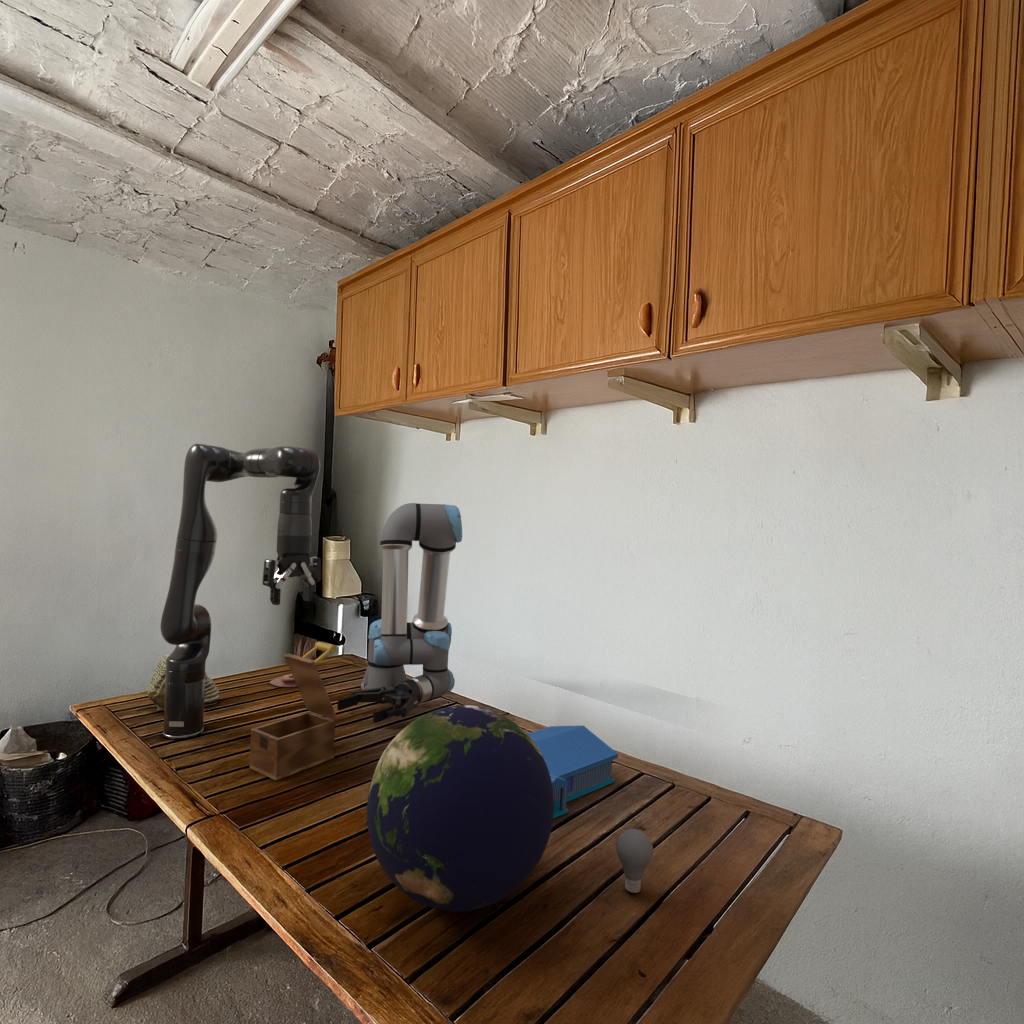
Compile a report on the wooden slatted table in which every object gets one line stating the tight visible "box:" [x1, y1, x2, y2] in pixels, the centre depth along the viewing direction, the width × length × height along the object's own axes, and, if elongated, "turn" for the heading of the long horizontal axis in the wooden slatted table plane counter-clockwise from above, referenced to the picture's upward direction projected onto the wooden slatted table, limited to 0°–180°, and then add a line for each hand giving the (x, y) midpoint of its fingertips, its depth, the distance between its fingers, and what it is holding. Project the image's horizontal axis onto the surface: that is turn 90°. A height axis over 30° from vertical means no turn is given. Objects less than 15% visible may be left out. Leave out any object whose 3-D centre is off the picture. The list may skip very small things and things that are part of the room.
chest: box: [249, 711, 336, 781], centre depth 150 cm, size 16×10×9 cm, turn 146°
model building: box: [526, 725, 619, 820], centre depth 140 cm, size 39×24×10 cm, turn 132°
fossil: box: [147, 654, 221, 712], centre depth 185 cm, size 9×18×15 cm, turn 132°
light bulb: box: [615, 828, 654, 894], centre depth 106 cm, size 6×6×10 cm
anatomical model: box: [269, 673, 298, 688], centre depth 212 cm, size 13×4×12 cm
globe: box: [366, 704, 554, 913], centre depth 102 cm, size 30×30×30 cm
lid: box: [284, 640, 338, 721], centre depth 156 cm, size 17×10×9 cm
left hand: (291, 602), depth 147 cm, fingers open, 8 cm apart
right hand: (355, 711), depth 165 cm, fingers open, 13 cm apart
